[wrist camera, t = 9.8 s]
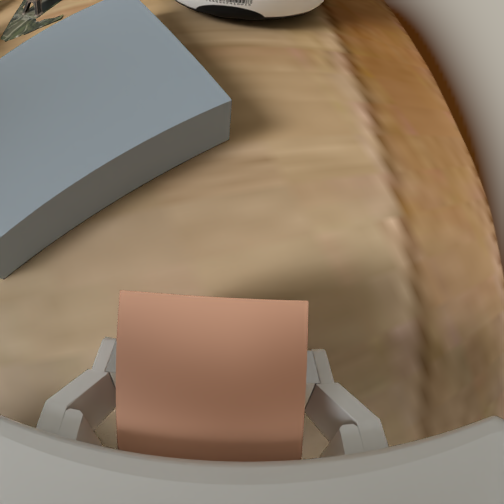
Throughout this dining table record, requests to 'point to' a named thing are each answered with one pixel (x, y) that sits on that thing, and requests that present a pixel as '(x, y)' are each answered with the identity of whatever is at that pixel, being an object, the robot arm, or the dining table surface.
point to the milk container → (252, 8)
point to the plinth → (95, 120)
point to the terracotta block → (211, 377)
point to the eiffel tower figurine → (29, 18)
